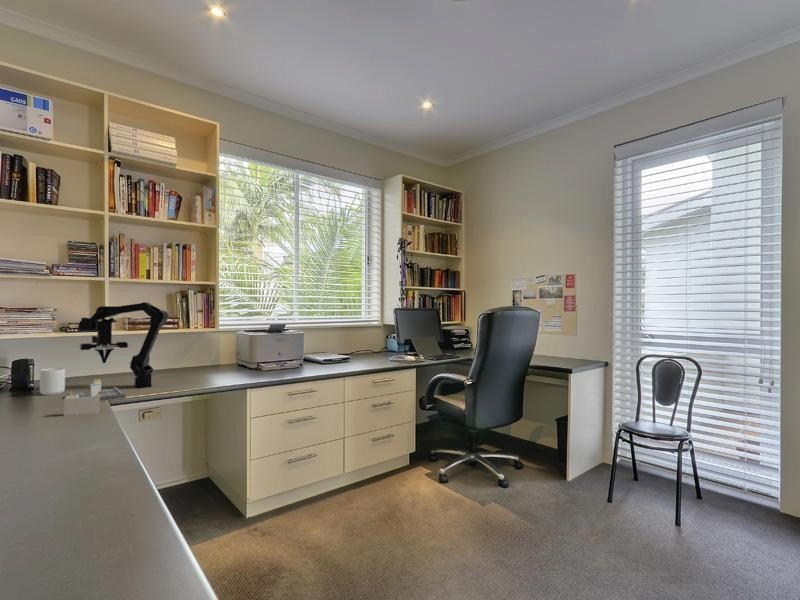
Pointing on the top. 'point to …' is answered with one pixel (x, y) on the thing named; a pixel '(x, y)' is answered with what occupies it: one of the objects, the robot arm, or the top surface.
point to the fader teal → (94, 389)
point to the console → (102, 394)
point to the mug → (52, 381)
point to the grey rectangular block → (98, 384)
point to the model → (81, 405)
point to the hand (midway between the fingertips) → (104, 363)
